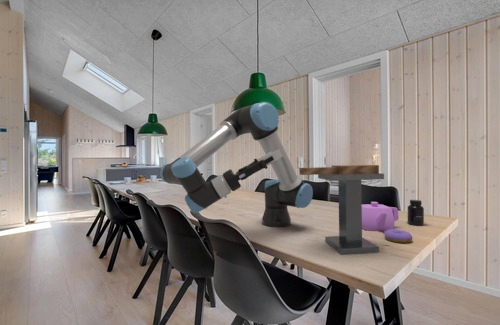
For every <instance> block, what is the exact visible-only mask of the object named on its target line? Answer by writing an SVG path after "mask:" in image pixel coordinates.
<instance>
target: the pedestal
mask: <svg viewBox="0 0 500 325" xmlns="http://www.w3.org/2000/svg"><path fill="white" fill-rule="evenodd" d="M317 179H320V180H324V181H325V180H326V181H333V182H335V181H338V183H337V185H338V186H337V187H338V235H334V236H333V235H332V236H330V235H329V236H325V237H324V238H325V242H326V243H327V244H328V245H329V246H330V247H331V248H333V249H334V250H335V251H336V252H338V253H339V254H340V255H358V254H370V253H371V254H372V253H373V254H374V253H379V252H380V246H379V245H377V244H375V243H373V242H372V241H370V240H368V239H366V238H365V237H363V229H362V203H363V202H362V199H363V198H362V181H363V180H364V181H365V180H368V181H369V180H385V173H382V172H379V173H377V174H320V175H317Z"/></svg>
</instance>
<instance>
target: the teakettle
mask: <svg viewBox="0 0 500 325" xmlns="http://www.w3.org/2000/svg"><path fill="white" fill-rule="evenodd" d="M399 219H400V218H399V209H398V207H393V206H387V205H384V204H382V203H381V204H380V203H379V202H378V201H370V204H369V203H368V204H362V230H364V231H370V232H371V231H372V232H374V231H375V232H385V231H387V230H389V229H395V222H396V221H398V220H399Z"/></svg>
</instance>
